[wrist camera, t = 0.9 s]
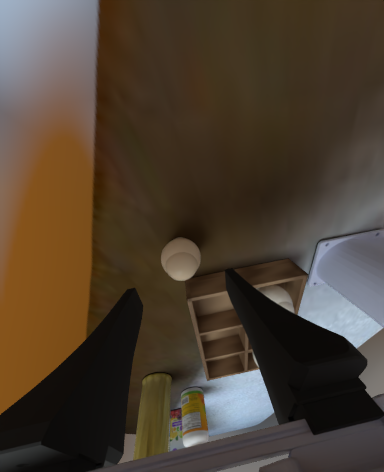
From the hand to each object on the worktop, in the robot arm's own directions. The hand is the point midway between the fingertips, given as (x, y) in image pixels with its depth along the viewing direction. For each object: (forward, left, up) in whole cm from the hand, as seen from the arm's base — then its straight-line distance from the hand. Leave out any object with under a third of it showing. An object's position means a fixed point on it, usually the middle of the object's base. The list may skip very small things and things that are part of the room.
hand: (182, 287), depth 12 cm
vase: (+11, +31, -7) cm, 34 cm away
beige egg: (0, 0, -7) cm, 7 cm away
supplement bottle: (+5, +41, -7) cm, 42 cm away
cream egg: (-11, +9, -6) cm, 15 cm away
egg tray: (-7, +16, -7) cm, 19 cm away
